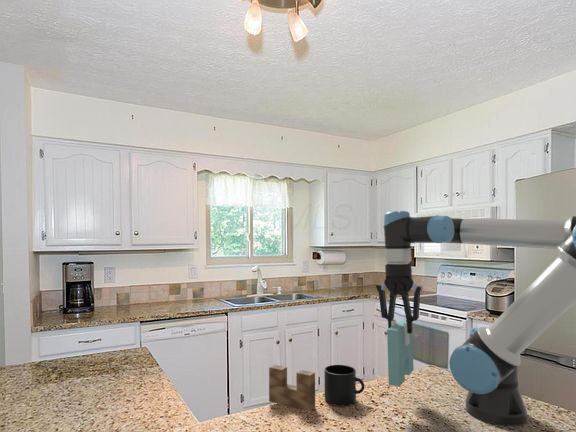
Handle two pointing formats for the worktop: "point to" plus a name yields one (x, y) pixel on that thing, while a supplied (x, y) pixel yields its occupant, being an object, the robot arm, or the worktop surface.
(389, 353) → the teal flat block
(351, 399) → the mug
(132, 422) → the worktop surface
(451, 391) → the worktop surface
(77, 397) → the worktop surface
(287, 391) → the walnut u-shaped block
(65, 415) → the worktop surface
